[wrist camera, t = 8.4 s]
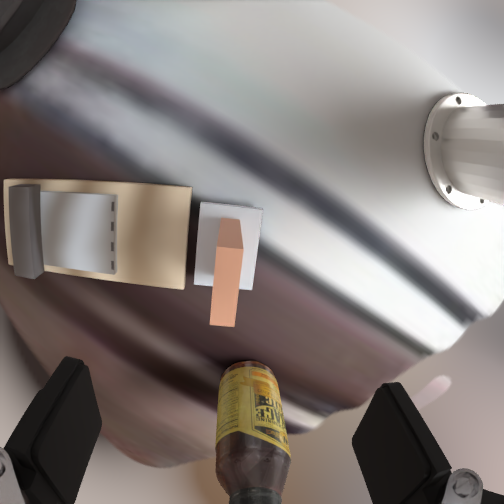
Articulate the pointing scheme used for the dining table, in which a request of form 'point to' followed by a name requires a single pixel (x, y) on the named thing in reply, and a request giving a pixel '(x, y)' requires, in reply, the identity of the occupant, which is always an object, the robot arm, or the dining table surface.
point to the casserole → (29, 34)
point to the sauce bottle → (251, 435)
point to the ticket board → (98, 230)
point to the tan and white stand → (226, 255)
